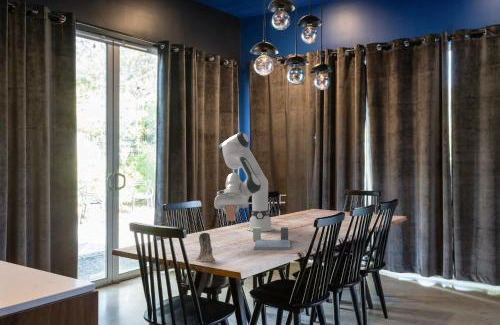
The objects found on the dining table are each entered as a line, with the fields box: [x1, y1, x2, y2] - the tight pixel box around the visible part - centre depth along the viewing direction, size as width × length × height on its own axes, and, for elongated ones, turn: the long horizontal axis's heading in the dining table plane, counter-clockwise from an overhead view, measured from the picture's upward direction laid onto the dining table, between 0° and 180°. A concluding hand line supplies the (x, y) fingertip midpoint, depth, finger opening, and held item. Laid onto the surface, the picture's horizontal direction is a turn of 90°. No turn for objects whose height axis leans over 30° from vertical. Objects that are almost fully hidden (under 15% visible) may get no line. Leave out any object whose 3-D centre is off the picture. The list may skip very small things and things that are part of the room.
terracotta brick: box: [225, 206, 236, 222], centre depth 256 cm, size 4×4×8 cm
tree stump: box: [195, 232, 216, 263], centre depth 224 cm, size 10×10×13 cm
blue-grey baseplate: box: [253, 239, 291, 250], centre depth 256 cm, size 20×20×2 cm
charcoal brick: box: [280, 226, 289, 240], centre depth 270 cm, size 4×4×8 cm
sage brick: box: [252, 227, 262, 242], centre depth 272 cm, size 4×4×8 cm
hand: (230, 212), depth 256 cm, fingers closed on terracotta brick, 4 cm apart
